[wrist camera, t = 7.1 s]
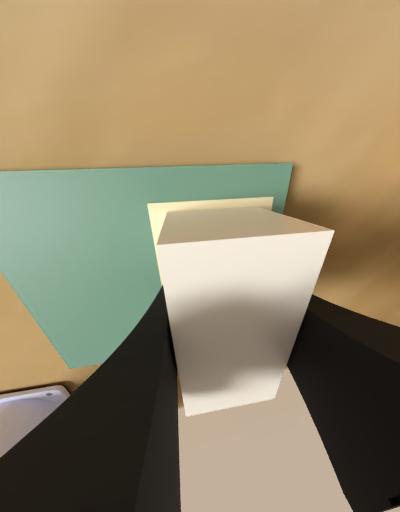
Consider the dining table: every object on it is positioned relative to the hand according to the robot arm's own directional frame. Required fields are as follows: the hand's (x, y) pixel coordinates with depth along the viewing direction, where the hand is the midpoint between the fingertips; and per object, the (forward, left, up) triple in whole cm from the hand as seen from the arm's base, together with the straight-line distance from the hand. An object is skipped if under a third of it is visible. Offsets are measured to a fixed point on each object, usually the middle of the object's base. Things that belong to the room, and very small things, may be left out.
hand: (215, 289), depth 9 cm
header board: (-4, 0, -2) cm, 4 cm away
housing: (0, 0, -1) cm, 1 cm away
